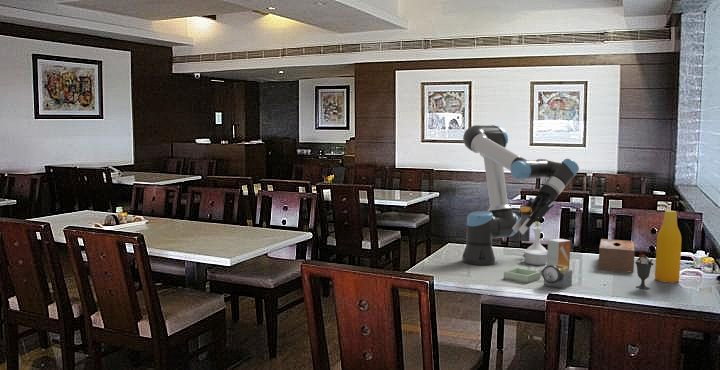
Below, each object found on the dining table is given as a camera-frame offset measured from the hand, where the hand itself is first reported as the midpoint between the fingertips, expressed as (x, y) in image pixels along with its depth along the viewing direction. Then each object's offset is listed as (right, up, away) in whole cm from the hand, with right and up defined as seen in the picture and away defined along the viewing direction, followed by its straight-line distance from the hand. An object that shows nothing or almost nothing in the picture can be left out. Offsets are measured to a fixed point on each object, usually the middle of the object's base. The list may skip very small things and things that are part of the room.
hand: (517, 231), depth 255 cm
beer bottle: (+63, -21, +5) cm, 67 cm away
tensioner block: (+13, -21, -8) cm, 26 cm away
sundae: (+47, -22, -9) cm, 53 cm away
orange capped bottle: (+3, -4, +2) cm, 6 cm away
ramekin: (+18, -18, +36) cm, 44 cm away
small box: (+24, -19, +24) cm, 39 cm away
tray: (+3, -20, +4) cm, 21 cm away
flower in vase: (+22, -16, +51) cm, 58 cm away
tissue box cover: (+54, -19, +33) cm, 66 cm away
